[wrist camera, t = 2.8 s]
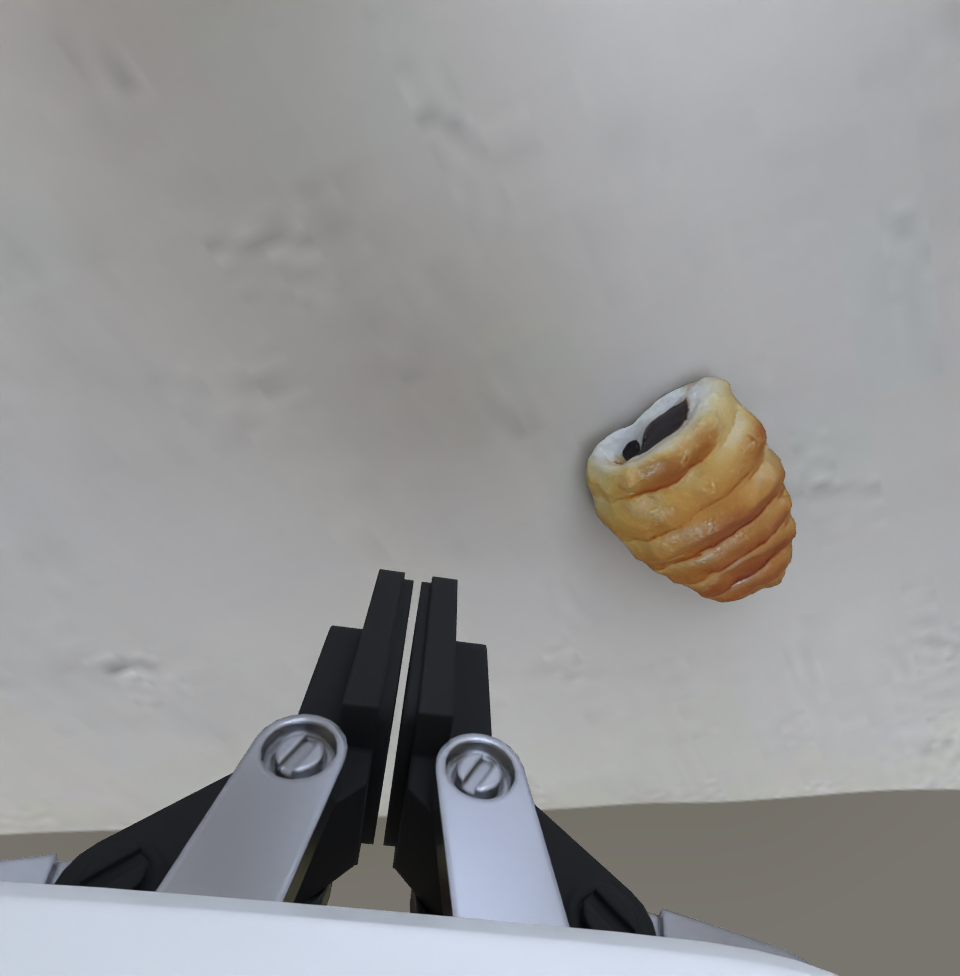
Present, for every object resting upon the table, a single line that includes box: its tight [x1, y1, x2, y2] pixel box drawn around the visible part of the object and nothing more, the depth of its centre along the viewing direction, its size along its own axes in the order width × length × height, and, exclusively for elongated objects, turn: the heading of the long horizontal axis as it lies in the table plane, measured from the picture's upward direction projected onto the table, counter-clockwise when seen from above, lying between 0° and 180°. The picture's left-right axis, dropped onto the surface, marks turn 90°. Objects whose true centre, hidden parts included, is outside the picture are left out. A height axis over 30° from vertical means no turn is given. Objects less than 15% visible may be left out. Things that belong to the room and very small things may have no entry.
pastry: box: [586, 377, 796, 602], centre depth 22 cm, size 9×7×4 cm
